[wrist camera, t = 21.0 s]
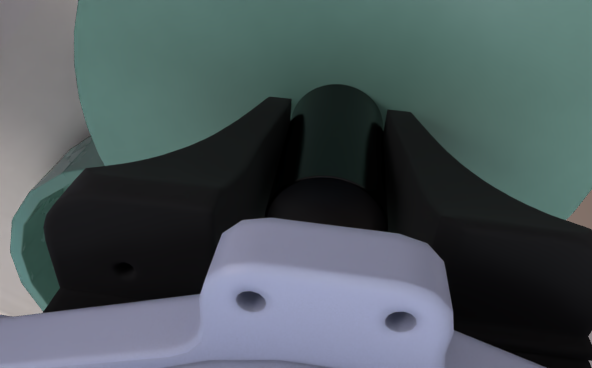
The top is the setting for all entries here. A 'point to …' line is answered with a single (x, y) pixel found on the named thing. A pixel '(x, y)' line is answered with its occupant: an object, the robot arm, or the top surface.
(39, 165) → the top surface
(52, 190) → the tin
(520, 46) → the tin lid
